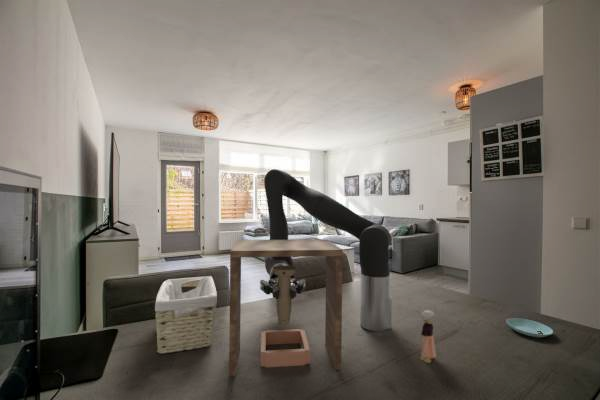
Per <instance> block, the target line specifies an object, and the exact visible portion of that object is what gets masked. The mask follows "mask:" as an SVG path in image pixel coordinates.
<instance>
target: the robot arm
mask: <svg viewBox="0 0 600 400" xmlns="http://www.w3.org/2000/svg"><path fill="white" fill-rule="evenodd" d="M263 183H264V191H265V195H266V197H265V198H266V203H267V210H268V219H269V240H289V225H288V221H287V217H286V213H285V210H284V205H283V200H284V199H283V197H285V198H288V199H290V200H292V201H294V202H295V203H296V204H298V205H300V207H301V208H303V209H304V211H305V212H307V213H308V214H309V215H310V216H312V217H313V218H315V219H316V220H318V221H320V222H321V223H323V224H325V225H327V226H329V227H331V228H335V229H336V230H337V229H338V230H340V231H343V232H346V233H348V234H350V235H352V236H353V237H355V239H357V240H359V244H358V245H359V246H358V249H359V251H358V252H359V253H358V255H359V257H358V258H359V266H360V320H359V322H360V324H359V325H360V326H361V327H362V328H363V329H366V331H367V330H368V331H371V332H384V331H387V330H390V329H391V330H392V324H393V323H392V319H393V317H392V316H393V315H392V314H393V313H392V311H393V310H392V308H393V306H392V305H393V300H392V298H390V273H391V272H390V270H391V269H390V265H389V263H390V262H389V247H390V246H391V243H392V236H391V233H390V231H389V229H387V228H386V227H385V226H382V225H380V224H378V223H375V222H373V221H371V220H369V219H367V218H365V217H362V216H361V215H358V214H357V213H356V212H354V211H352V210H351V209H349V208H348V207H346V206H345V205H343V204H342V203H340V202H338V201H337V200H335V199H334V198H331V197H330V196H328V195H327V194H324V193H322V192H320V191H318V190H316V189H314V188H311V187H309V186H306V185H305V184H303V183H302V182H300V181H299V180H298V179H296V178H295V177H294V176H292V175H291V174H290V173H288V172H286V171H284V170H281V169H275V168H273V169H271V170H269V171H267V172H266V173H265V176H264V179H263ZM274 266H294V262H293V257H266V259H265V261H264V267H265V271H266V272H267V274H268V276H269V279H268V280H265V279H260V281H259V283H260V287H259V289H260V290H261V291H262V292H263V293H264V294H266V295H271V294H272V297H273V298H275V300H277V299H278V276H277V275H275V274H274V273H273V267H274ZM305 289H306V279H304V278H301V279H300V280H297V279H296V278H295V274H294V275H292V276H291V300H292V299H293V300H294V299H295V298H297V294H299V295H301V294H302V293H303V292H304V291H305Z"/></svg>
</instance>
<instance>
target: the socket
mask: <svg viewBox="0 0 600 400" xmlns="http://www.w3.org/2000/svg"><path fill="white" fill-rule="evenodd" d="M260 333H261V335H260V339H261V340H260V367H265V368H276V367H278V368H279V367H280V368H281V367H294V366H295V367H296V366H305V365H306V364H308V365H309V364H310V363H311V359H310V358H311V348H310V345H309V341H308V338H307V335H306V332H305V329H300V328H296V329H294V328H293V329H271V330H265V331H261V332H260ZM282 344H283V345H286V344H300V347H301V348H296V349H295V348H293V349H290V348H289V349H275V350H274V349H273V350H272V349H271V350H266V347H267V345H282Z"/></svg>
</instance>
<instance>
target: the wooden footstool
mask: <svg viewBox="0 0 600 400" xmlns="http://www.w3.org/2000/svg"><path fill="white" fill-rule="evenodd" d="M229 253H230V254H229V255H230V259H229V260H230V262H229V265H230V266H229V267H230V268H229V334H228V335H229V339H228V340H229V341H228V342H229V345H228V347H229V351H228V352H229V353H228V354H229V355H228V358H229V360H228V368H229V369H228V377H236V376H237V369H238V365H239V364H238V363H239V358H240V351H241V313H242V312H241V310H242V309H241V303H242V302H241V299H242V298H241V297H242V296H241V293H242V292H241V290H242V285H241V284H242V283H241V282H242V258H268V257H292V258H294V257H325V319H324V320H325V321H324V322H325V326H324V327H325V328H324V329H325V330H324V333H325V334H324V335H325V336H324V339H325V341H324V346H325V349H326V351H327V352H328V353H327V354H328V356H329V358H330V361H331V363H332V366H333V368H334V370H335V371H339V370H340V371H341V370H342V339H343V338H342V335H343V334H342V328H343V327H342V326H343V324H342V323H343V318H342V317H343V314H342V313H343V249H342V248H340V246H337V244H335V243H333V242H331V241H330V240H328V239H288V240H270V239H237V240H236V242H235V243H234V245H233V246H232V248H231V249H230V251H229Z"/></svg>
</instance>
